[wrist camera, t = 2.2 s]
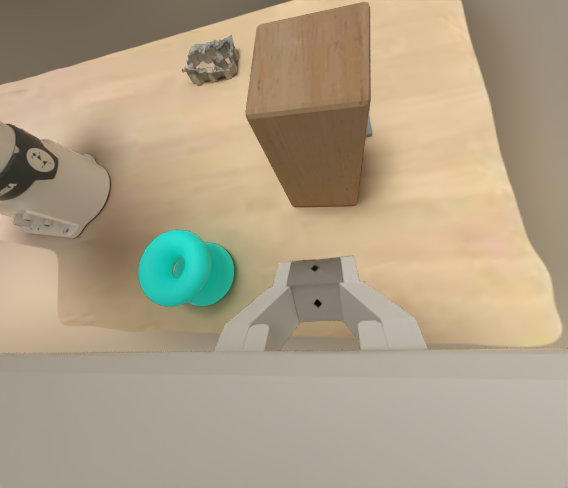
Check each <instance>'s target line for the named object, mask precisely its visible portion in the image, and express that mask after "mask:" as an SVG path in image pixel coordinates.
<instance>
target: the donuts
mask: <svg viewBox="0 0 568 488" xmlns="http://www.w3.org/2000/svg"><path fill="white" fill-rule="evenodd" d="M177 261H178V262H177ZM176 262H177V265H176V268H175V272H174V274H173V267H174V265H175V263H176ZM138 276H139V282H140V286H141V288H142V290H143V292H144V294H145V295H146V296H147V297H148V298H149V299H150V300H151V301H153V302H154V303H156V304H159V305H162V306H169V307H171V306H179V305H182V304H185V303H187V302H188V303H190V304H192V305H196V306H207V305H211V304H214V303H216V302H217V301H219V300H220V299H222V298H223V297H224V296H225V295H226V293H227V292H228V291H229V289H230V287H231V285H232V282H233V279H234V264H233V261H232V258H231V256H230V255H229V253H228V252H227V251H226V250H225V249H224V248H223V247H221V246H219V245H217V244H215V243H208V242H205V243H204V241H203V240H202V239H201V238H200V237H199V236H197V235H196V234H194V233H192V232H190V231H186V230H171V231H168V232H165V233H163V234H161V235H159V236H158V237H156V238H155V239H154V240H153V241H152V242H151V243H150V244H149V245H148V246H147V248H146V249H145V251H144V253H143V255H142V257H141V260H140V264H139V270H138Z"/></svg>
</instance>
